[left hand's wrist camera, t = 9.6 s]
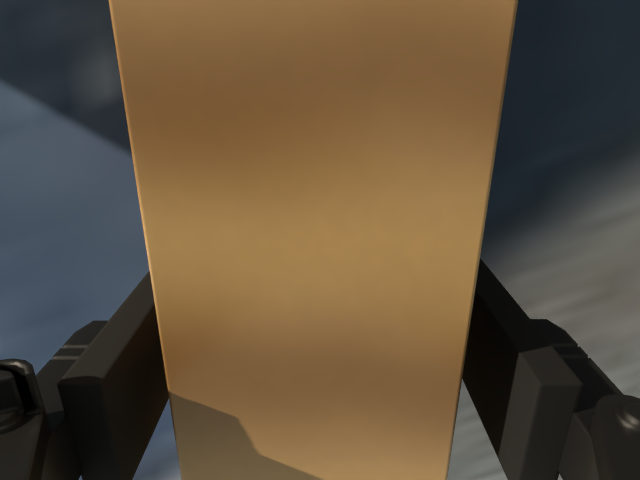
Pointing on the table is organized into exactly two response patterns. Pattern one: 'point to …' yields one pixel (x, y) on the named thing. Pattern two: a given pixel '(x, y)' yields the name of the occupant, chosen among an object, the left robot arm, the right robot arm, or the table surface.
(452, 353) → the post
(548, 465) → the left robot arm
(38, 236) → the table surface
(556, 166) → the table surface
